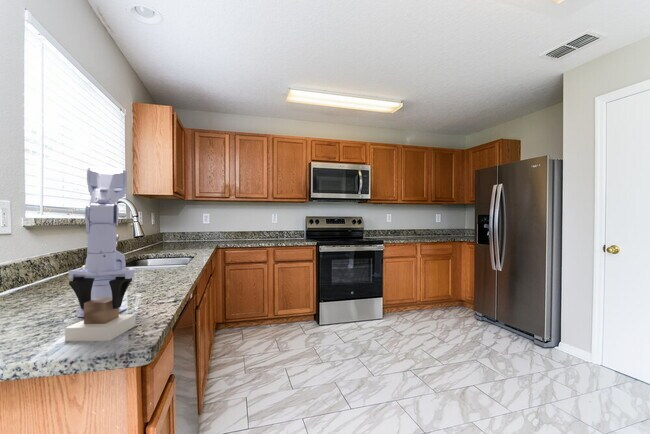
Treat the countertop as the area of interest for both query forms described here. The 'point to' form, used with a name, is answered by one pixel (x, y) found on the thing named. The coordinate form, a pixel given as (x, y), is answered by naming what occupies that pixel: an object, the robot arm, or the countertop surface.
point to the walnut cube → (99, 311)
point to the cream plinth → (100, 329)
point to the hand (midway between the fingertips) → (101, 307)
